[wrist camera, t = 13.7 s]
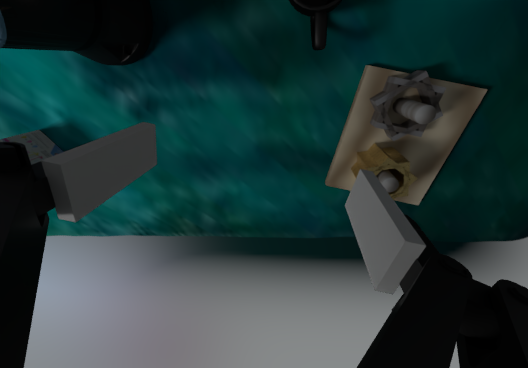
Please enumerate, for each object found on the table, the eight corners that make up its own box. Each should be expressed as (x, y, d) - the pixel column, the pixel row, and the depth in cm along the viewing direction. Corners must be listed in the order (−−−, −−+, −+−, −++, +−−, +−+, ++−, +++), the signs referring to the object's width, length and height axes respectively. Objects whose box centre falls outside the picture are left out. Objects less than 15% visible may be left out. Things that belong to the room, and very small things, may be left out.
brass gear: (351, 187, 44) (361, 207, 38) (349, 147, 41) (358, 161, 34) (398, 181, 42) (416, 201, 36) (400, 138, 39) (419, 152, 33)
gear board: (325, 181, 46) (331, 207, 38) (367, 61, 36) (389, 59, 27) (414, 201, 46) (441, 232, 37) (483, 84, 35) (541, 90, 27)
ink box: (74, 159, 51) (7, 188, 39) (57, 179, 54) (-10, 211, 42) (38, 128, 48) (-45, 148, 37) (23, 150, 51) (-59, 176, 40)
